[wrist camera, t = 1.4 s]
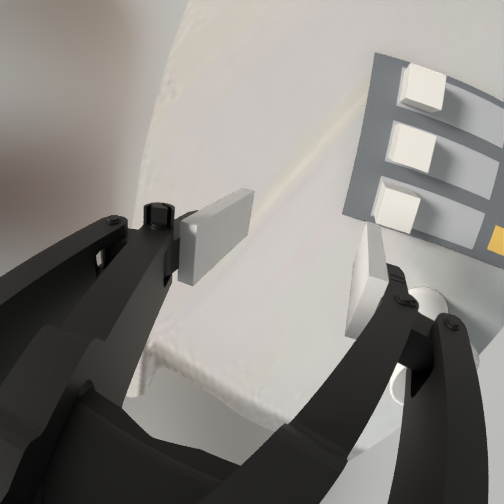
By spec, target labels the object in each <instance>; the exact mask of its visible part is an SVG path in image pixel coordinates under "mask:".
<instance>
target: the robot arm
mask: <svg viewBox="0 0 504 504" xmlns="http://www.w3.org/2000/svg"><path fill="white" fill-rule="evenodd" d="M253 198H254V191H252V190H248V189H244V188H241V189H239V190H238V191H236V192H234V193H232V194H230V195H228V196H226V197H224V198H222V199H220V200H218V201H216V202H214V203H212V204H211V205H209V206H207V207H205V208H203V209H201V210H199V211H198V210H196V211H192V212H188V213H186V214H184V215H182V216H180V217H178V219H177V218H176V219H174V213H175V207H174V206H173V205H171V204H167V203H159V202H157V203H149V204H146V205H144V225H143V226H142V227H141V228H140V229H139V230H136V229H129V228H128V220H127V219H126V218H125V217H122V216H118V215H111V216H108V217H104V218H102V219H100V220H98V221H96V222H94V223H92V224H90V225H88V226H86V227H85V228H83V229H81V230H79V231H77V232H75V233H73V234H72V235H70V236H68V237H66V238H64V239H63V240H61V241H59V242H57V243H56V244H54V245H52V246H50V247H49V248H47V249H45V250H43V251H42V252H40V253H38V254H37V255H35V256H33V257H32V258H30V259H28V260H27V261H25V262H24V263H22V264H20V265H19V266H17V267H15V268H14V269H13V270H11V271H9V272H8V273H6V274H5V275H3V276H2V277H0V504H319V503H320V502H321V500H322V499H323V498H324V497H325V495H326V494H327V493H328V491H329V490H330V488H331V487H332V485H333V484H334V483H335V481H336V480H337V478H338V477H339V475H340V474H341V472H342V471H343V469H344V467H345V465H346V464H347V461H348V460H347V457H348V455H349V453H350V452H351V450H352V448H353V447H354V445H355V443H356V442H357V440H358V438H359V437H360V435H361V433H362V432H363V430H364V428H365V426H366V425H367V423H368V421H369V419H370V417H371V416H372V414H373V412H374V410H375V408H376V406H377V404H378V402H379V400H380V398H381V396H382V394H383V392H384V390H385V388H386V386H387V384H388V382H389V380H390V378H391V376H392V374H393V372H394V369H395V367H396V365H397V363H399V364H401V365H403V366H405V367H407V369H406V379H405V395H404V407H403V417H402V426H401V434H400V442H399V448H398V455H397V461H396V466H395V472H394V477H393V482H392V487H391V491H390V495H389V500H388V504H488V451H487V438H486V427H485V419H484V411H483V404H482V397H481V391H480V386H479V380H478V375H477V370H476V365H475V361H474V357H473V352H472V348H471V344H470V340H469V337H468V333H467V329H466V327H465V325H464V324H463V322H462V321H461V320H460V319H459V318H457V317H456V316H455V315H451V314H448V313H440V314H439V315H438V316H437V317H436V319H435V321H434V320H432V319H430V318H428V317H426V316H424V315H423V314H421V313H420V312H418V309H419V303H418V301H417V300H416V299H415V298H414V297H413V296H412V295H410V294H409V293H408V288H407V284H406V280H405V275H404V273H403V271H402V270H401V269H400V268H399V267H397V266H394V265H391V264H388V263H386V259H385V252H384V247H383V241H382V235H381V230H380V225H378V224H374V223H371V222H368V221H367V222H366V225H365V228H364V232H363V235H362V238H361V241H360V245H359V248H358V251H357V254H356V257H355V260H354V263H353V269H352V280H351V289H350V298H349V307H348V315H347V322H346V329H345V336H346V337H350V338H353V339H357V340H356V341H355V342H354V344H353V345H352V347H351V348H350V349H349V351H348V352H347V353H346V355H345V356H344V358H343V359H342V360H341V362H340V363H339V364H338V365H337V367H336V368H335V369H334V371H333V372H332V373H331V375H330V376H329V377H328V378H327V380H326V381H325V382H324V383H323V385H322V386H321V387H320V388H319V390H318V391H317V392H316V393H315V394H314V396H313V397H312V398H311V399H310V400H309V402H308V403H307V404H306V405H305V406H304V407H303V409H302V410H301V411H300V412H299V413H298V414H297V416H296V417H295V418H294V419H293V420H292V421H291V422H290V423H289V424H284V425H282V426H281V427H280V428H279V429H278V430H277V431H276V432H275V433H274V434H273V435H272V436H271V437H270V438H269V439H268V440H267V441H266V442H265V443H264V444H263V445H262V446H261V447H260V448H259V449H258V450H257V451H256V452H255V453H254V454H253V455H252V456H251V457H250V458H249V459H247V460H246V461H245V462H244V463H243V464H242V465H241V466H240V465H237V464H234V463H232V462H229V461H227V460H224V459H222V458H219V457H217V456H214V455H212V454H210V453H207V452H205V451H203V450H200V449H196V448H191V447H187V446H182V445H178V444H174V443H170V442H166V441H162V440H159V439H156V438H153V437H151V436H150V435H149V434H148V433H146V432H145V431H144V430H143V429H142V428H141V427H140V426H139V425H138V424H137V423H136V422H135V421H134V420H133V419H132V418H131V417H130V416H129V415H128V414H127V413H126V412H125V411H124V410H123V409H122V404H123V401H124V398H125V396H126V393H127V390H128V388H129V385H130V382H131V380H132V377H133V374H134V372H135V369H136V367H137V364H138V362H139V359H140V357H141V354H142V352H143V349H144V347H145V344H146V342H147V339H148V337H149V334H150V332H151V330H152V327H153V325H154V323H155V320H156V318H157V315H158V313H159V311H160V308H161V306H162V304H163V302H164V299H165V297H166V295H167V292H168V290H169V288H170V286H171V283H172V273H173V272H174V271H176V270H177V269H178V281H180V282H183V283H186V284H188V285H191V286H194V285H195V284H196V283H197V282H198V281H199V280H200V279H201V278H202V277H203V276H204V275H205V274H206V273H207V272H208V271H209V270H210V269H211V268H213V267H214V266H215V265H216V264H217V263H218V262H219V261H220V260H221V259H222V258H223V257H224V256H225V255H226V254H227V253H228V252H230V251H231V250H232V249H233V248H234V247H235V246H236V245H237V244H238V243H239V242H240V241H241V240H242V239H243V238H245V237H246V236H247V235H248V229H249V223H250V216H251V210H252V204H253ZM99 251H101V261H102V264H100V265H99V266H98V265H97V261H96V255H97V254H98V253H99Z"/></svg>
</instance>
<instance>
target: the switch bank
mask: <svg viewBox="0 0 504 504" xmlns="http://www.w3.org/2000/svg"><path fill="white" fill-rule="evenodd" d="M409 64H410V62H407V61H404V60H400V59H397V58H393V57H390V56H386V55H383V54H379V53H375V55H374V61H373V68H372V75H371V81H370V87H369V93H368V98H367V104H366V109H365V115H364V120H363V125H362V130H361V135H360V140H359V145H358V149H357V154H356V158H355V163H354V167H353V172H352V176H351V180H350V184H349V188H348V192H347V197H346V200H345V204H344V208H343V212H342V214H343V215H346V216H350V217H353V218H357V219H360V220H363V221H368V222H371V223H374V224H377V223H376V222H375V216H374V210H375V207H376V203H377V200H378V196H379V192H380V188H381V185H382V181H385V182H388V183H392V184H395V185H398V186H401V187H404V188H407V189H410V190H413V191H414V192H415V193H416V194H417V195H418V196H419V197H420V199H421V200H420V203H419V206H418V210H417V213H416V216H415V219H414V222H413V225H412V228H411V231H410V234H408V233H405V232H402V231H399V230H396V229H393V228H390V227H386V226H383V225H380V224H378V225H380V226H383V227H386V228H390V229H393V230H396V231H399V232H402V233H405V234H408V235H411V236H414V237H417V238H420V239H423V240H426V241H429V242H432V243H435V244H438V245H441V246H444V247H447V248H449V249H452V250H455V251H458V252H460V253H463V254H466V255H469V256H471V257H474V258H477V259H479V260H482V261H485V262H487V263H490V264H492V265H495V266H497V267H500V268H502V269H504V102H502V101H500V100H499V99H497V98H495V97H493V96H491V95H489V94H487V93H485V92H483V91H481V90H479V89H476V88H474V87H472V86H470V85H468V84H465V83H463V82H461V81H459V80H456V79H454V78H451V77H449V76H446V83H445V91H444V97H443V104H442V110H441V111H437V112H433V113H430V112H427V111H425V110H422V109H419V108H416V107H413V106H410V105H407V104H404V103H401V102H400V96H401V90H402V84H403V77H404V71H405V70H406V68H407V67H408V66H409ZM430 70H431V69H430ZM438 73H439V72H438ZM397 124H403V125H406V126H409V127H412V128H415V129H418V130H421V131H424V132H426V133H429V134H432V135H435V136H436V141H435V146H434V150H433V154H432V159H431V163H430V167H429V171H428V173H427V172H424V171H421V170H418V169H415V168H412V167H409V166H406V165H403V164H400V163H397V162H394V161H392V160H391V159H389V158H388V156H389V152H390V147H391V143H392V138H393V133H394V128H395V125H397Z"/></svg>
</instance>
